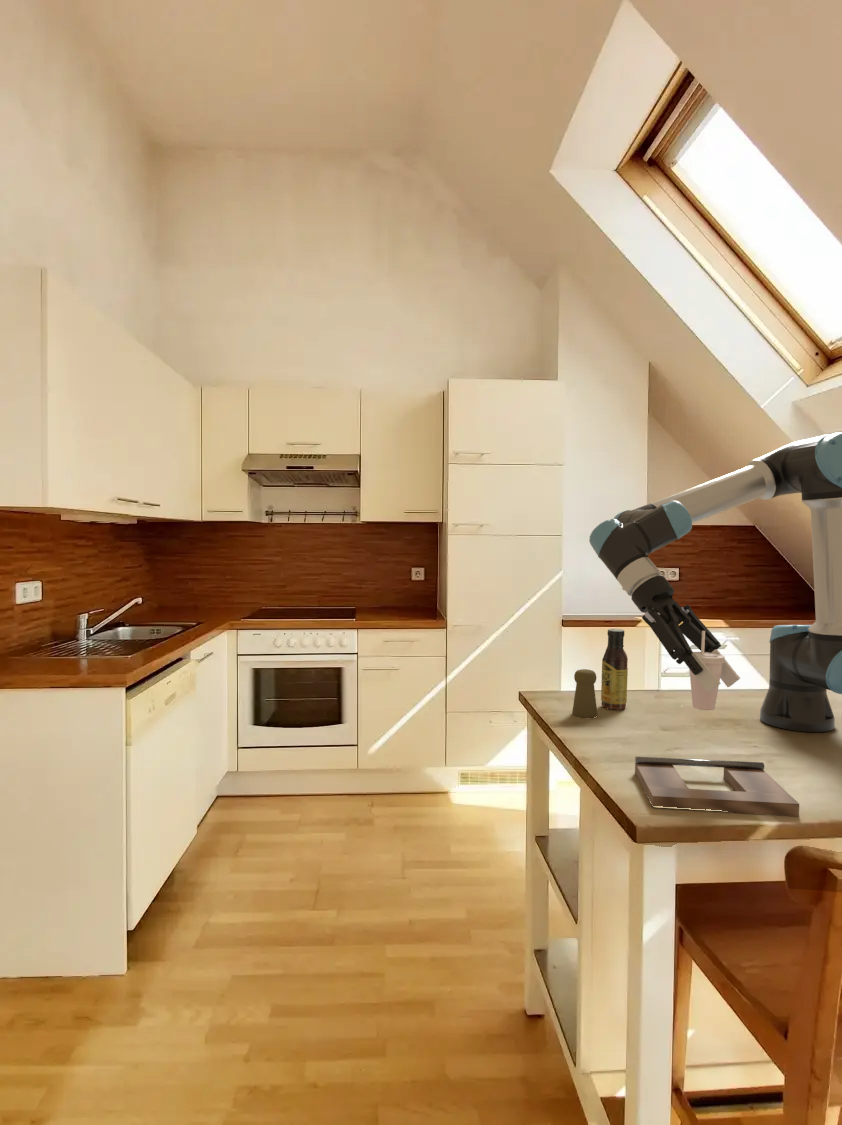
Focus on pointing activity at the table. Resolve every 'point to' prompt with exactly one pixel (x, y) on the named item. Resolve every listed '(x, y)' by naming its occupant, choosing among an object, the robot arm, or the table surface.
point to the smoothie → (699, 694)
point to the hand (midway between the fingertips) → (724, 685)
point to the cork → (585, 694)
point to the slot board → (718, 791)
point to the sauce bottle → (614, 672)
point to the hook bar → (699, 763)
